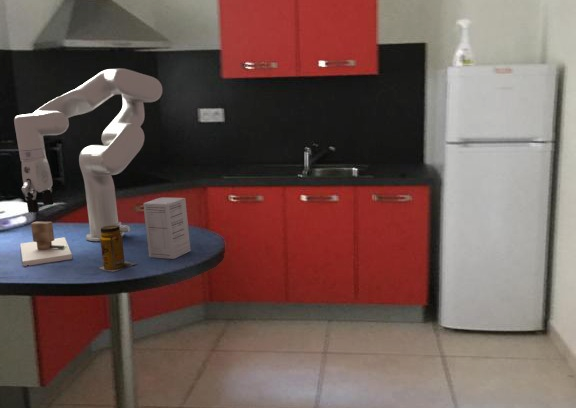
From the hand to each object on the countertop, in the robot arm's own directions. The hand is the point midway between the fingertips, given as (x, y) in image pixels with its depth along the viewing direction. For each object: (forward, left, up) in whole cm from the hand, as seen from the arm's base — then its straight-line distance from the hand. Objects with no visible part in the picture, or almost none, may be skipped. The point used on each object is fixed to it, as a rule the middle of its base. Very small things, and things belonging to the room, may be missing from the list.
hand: (41, 208), depth 208 cm
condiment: (-30, +16, -15) cm, 37 cm away
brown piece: (-2, +1, -13) cm, 13 cm away
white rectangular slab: (0, +1, -15) cm, 14 cm away
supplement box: (-42, +4, -15) cm, 44 cm away
